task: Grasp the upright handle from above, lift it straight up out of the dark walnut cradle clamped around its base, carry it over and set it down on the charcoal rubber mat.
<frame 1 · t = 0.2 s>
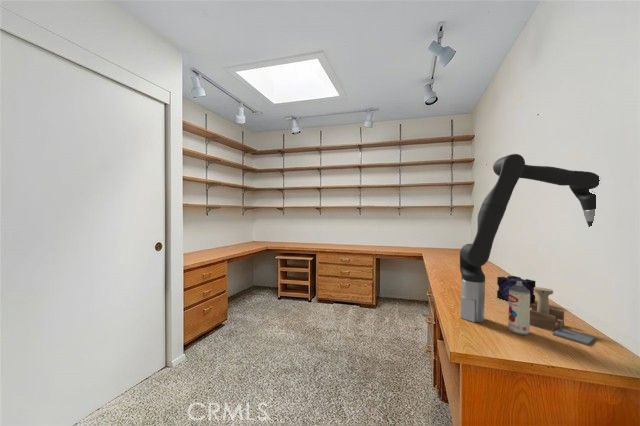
hand: (611, 253, 114), 31 cm above the table, tool tilted 20°, fingers open, 8 cm apart
cradle: (542, 323, 115), on the table
mat: (573, 336, 103), on the table
handle: (542, 324, 115), resting in cradle
energy cube: (515, 301, 146), on the table
aerosol can: (518, 332, 107), on the table
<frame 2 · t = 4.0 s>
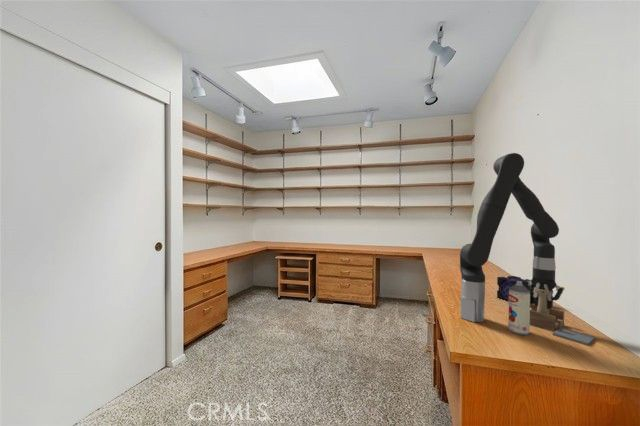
hand: (543, 307, 115), 7 cm above the table, tool pointing down, fingers closed on handle, 3 cm apart
handle: (542, 324, 115), resting in cradle, touching gripper
everything else where it was.
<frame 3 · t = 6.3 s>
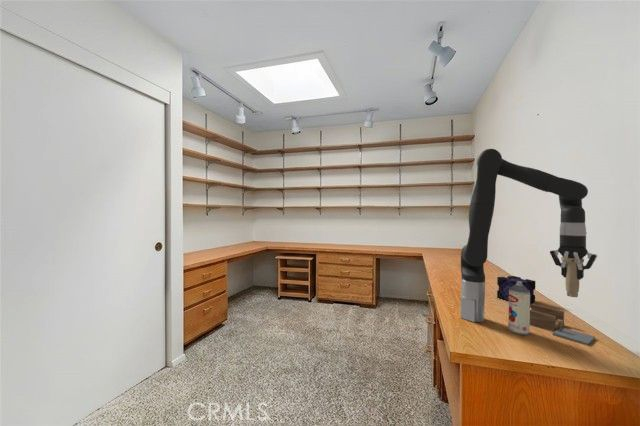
hand: (572, 278, 104), 23 cm above the table, tool pointing down, fingers closed on handle, 3 cm apart
handle: (572, 296, 104), point 15 cm above the table, touching gripper
everything else where it was.
when the fingers open (8 cm above the table, at t = 9.0 s): handle stays where it is, resting on mat.
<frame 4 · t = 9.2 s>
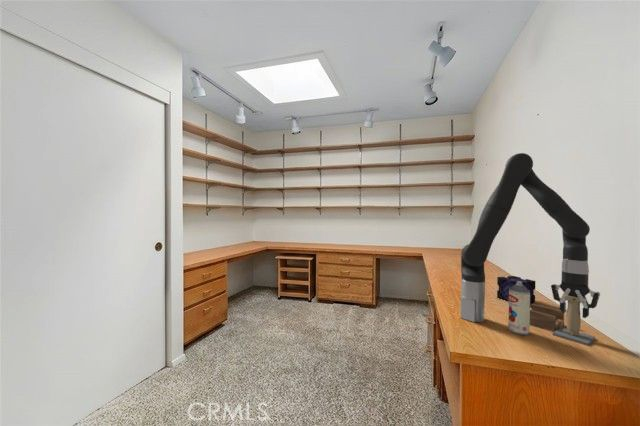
hand: (573, 314, 103), 9 cm above the table, tool pointing down, fingers open, 5 cm apart
handle: (573, 335, 103), point 1 cm above the table, touching mat
everything else where it was.
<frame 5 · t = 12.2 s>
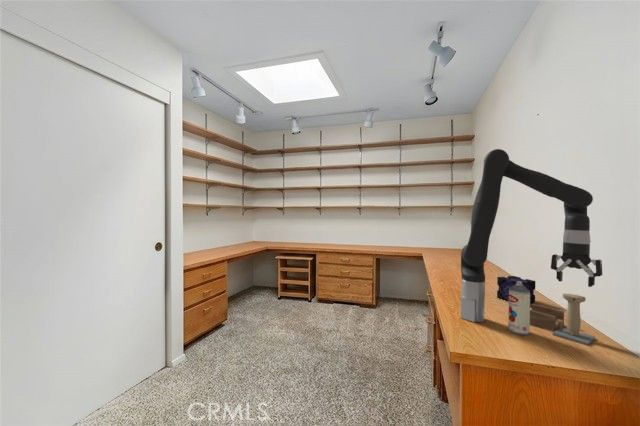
hand: (574, 283, 103), 21 cm above the table, tool pointing down, fingers open, 8 cm apart
nothing on the table moved.
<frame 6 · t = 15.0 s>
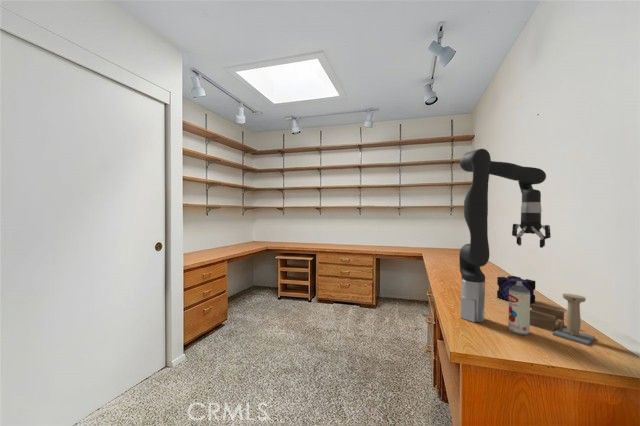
hand: (530, 246, 126), 32 cm above the table, tool pointing down, fingers open, 8 cm apart
nothing on the table moved.
at the end: handle 0.1 cm from the mat (horizontally); handle point 0.6 cm above the table; the gripper is holding nothing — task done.
